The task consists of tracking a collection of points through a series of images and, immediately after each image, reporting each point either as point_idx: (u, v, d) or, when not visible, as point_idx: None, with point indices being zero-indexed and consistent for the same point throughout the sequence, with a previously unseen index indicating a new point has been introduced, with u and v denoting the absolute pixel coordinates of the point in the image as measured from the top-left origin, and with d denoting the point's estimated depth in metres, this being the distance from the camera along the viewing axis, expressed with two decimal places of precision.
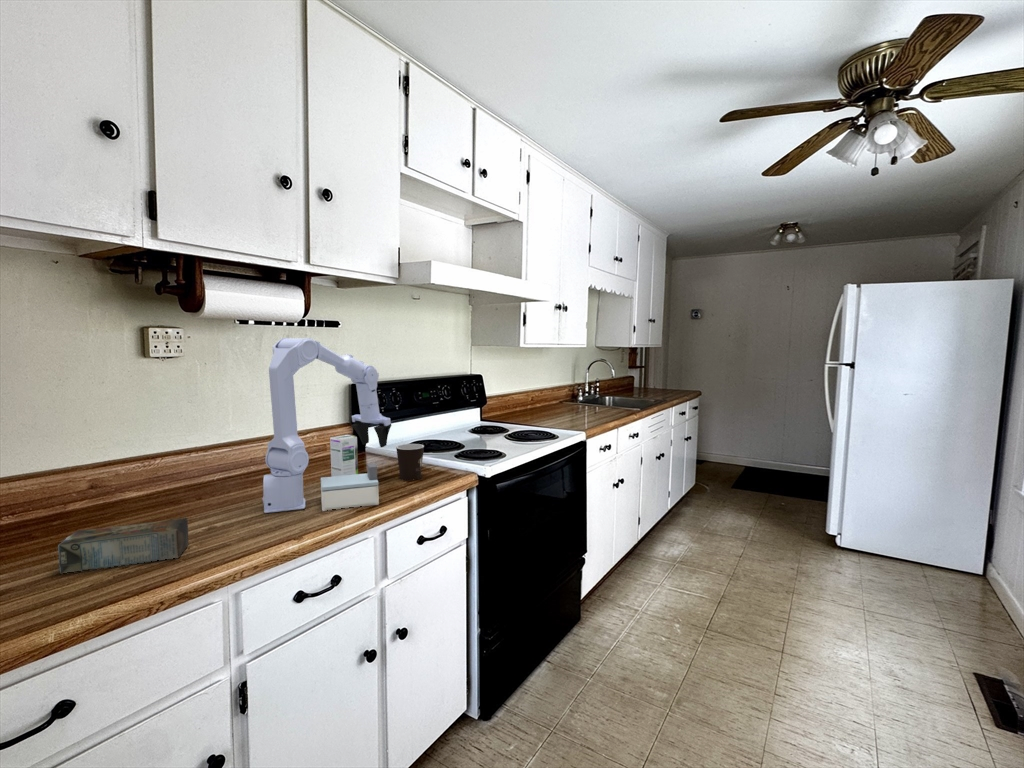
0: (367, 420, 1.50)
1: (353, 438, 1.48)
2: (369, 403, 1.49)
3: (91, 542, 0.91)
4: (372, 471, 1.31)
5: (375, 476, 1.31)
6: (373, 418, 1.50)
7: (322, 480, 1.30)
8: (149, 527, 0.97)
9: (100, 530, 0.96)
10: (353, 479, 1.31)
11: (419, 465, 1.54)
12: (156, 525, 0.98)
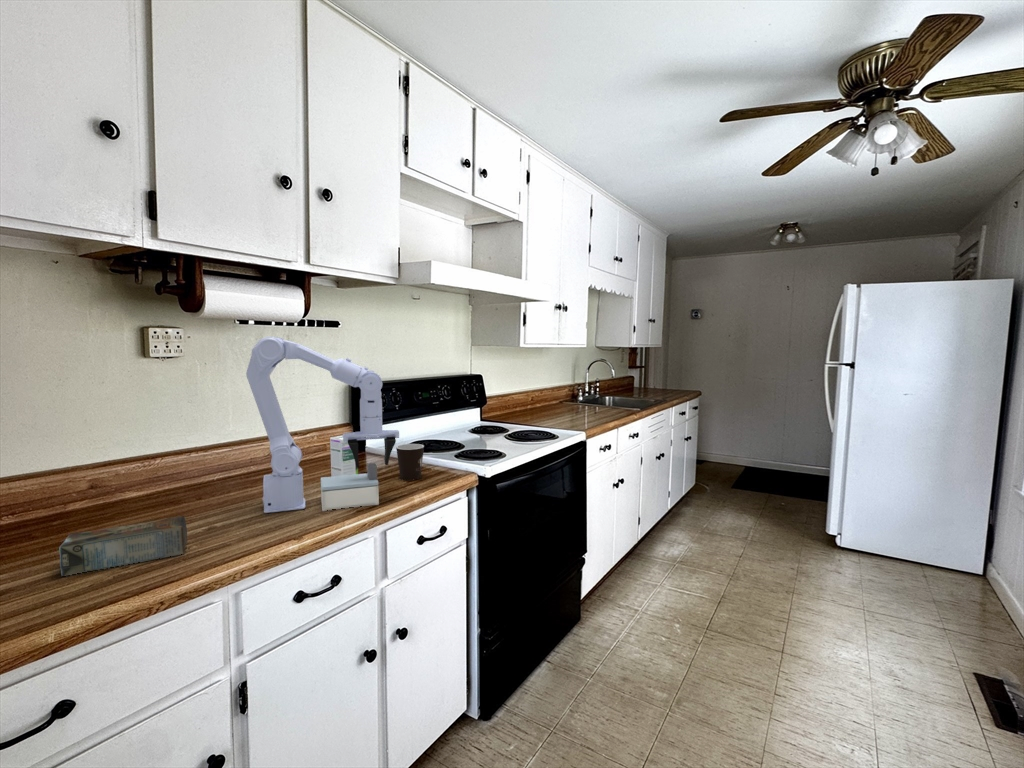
0: None
1: None
2: (364, 415, 1.29)
3: (94, 542, 0.91)
4: (372, 471, 1.31)
5: (375, 476, 1.31)
6: None
7: (322, 480, 1.30)
8: (151, 526, 0.98)
9: (96, 532, 0.96)
10: (353, 479, 1.31)
11: (419, 465, 1.54)
12: (157, 523, 0.99)
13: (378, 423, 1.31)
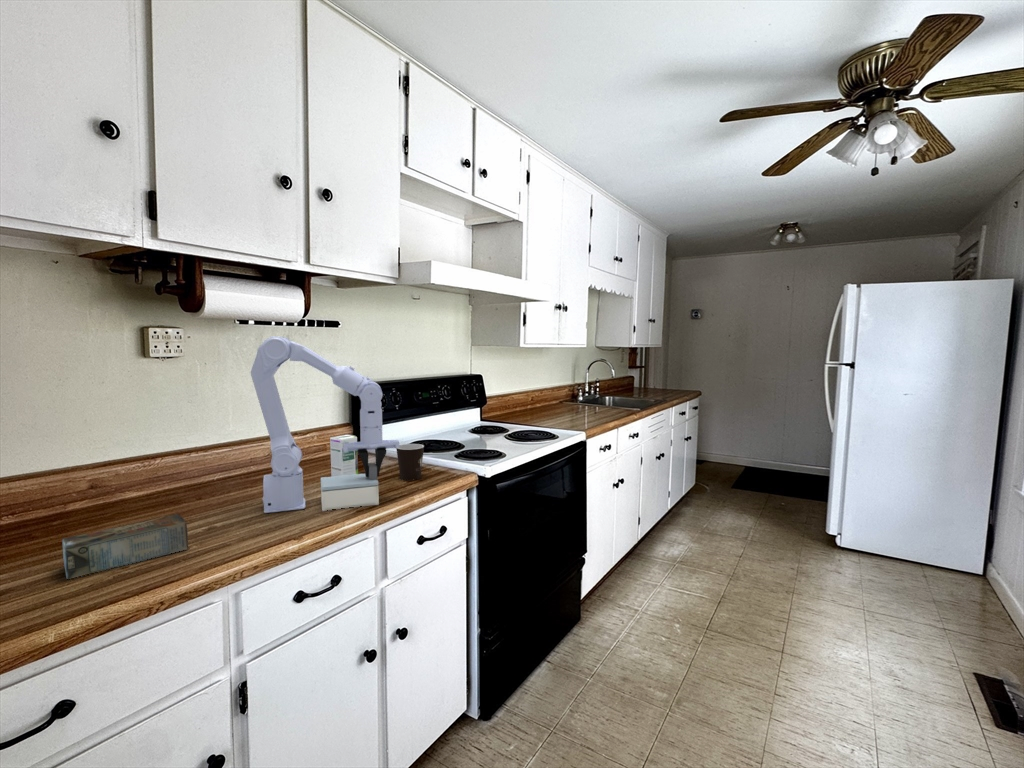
0: None
1: (353, 438, 1.48)
2: (364, 425, 1.30)
3: (100, 543, 0.91)
4: (372, 471, 1.31)
5: (375, 476, 1.31)
6: None
7: (322, 480, 1.30)
8: (152, 524, 0.98)
9: (93, 534, 0.94)
10: (353, 479, 1.31)
11: (419, 465, 1.54)
12: (158, 522, 1.00)
13: (378, 433, 1.31)
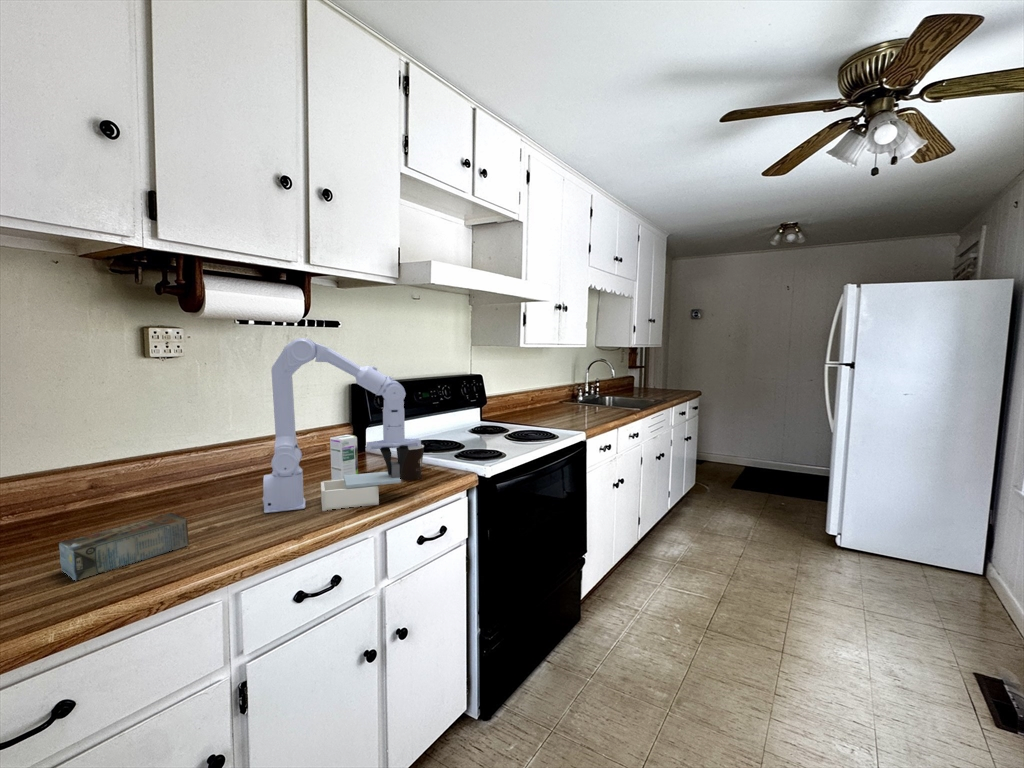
0: None
1: (353, 438, 1.48)
2: (387, 424, 1.32)
3: (107, 543, 0.91)
4: (395, 469, 1.33)
5: (398, 474, 1.33)
6: None
7: (346, 478, 1.32)
8: (152, 522, 0.99)
9: (91, 536, 0.93)
10: (376, 477, 1.34)
11: (419, 465, 1.54)
12: (156, 520, 1.00)
13: (401, 432, 1.33)
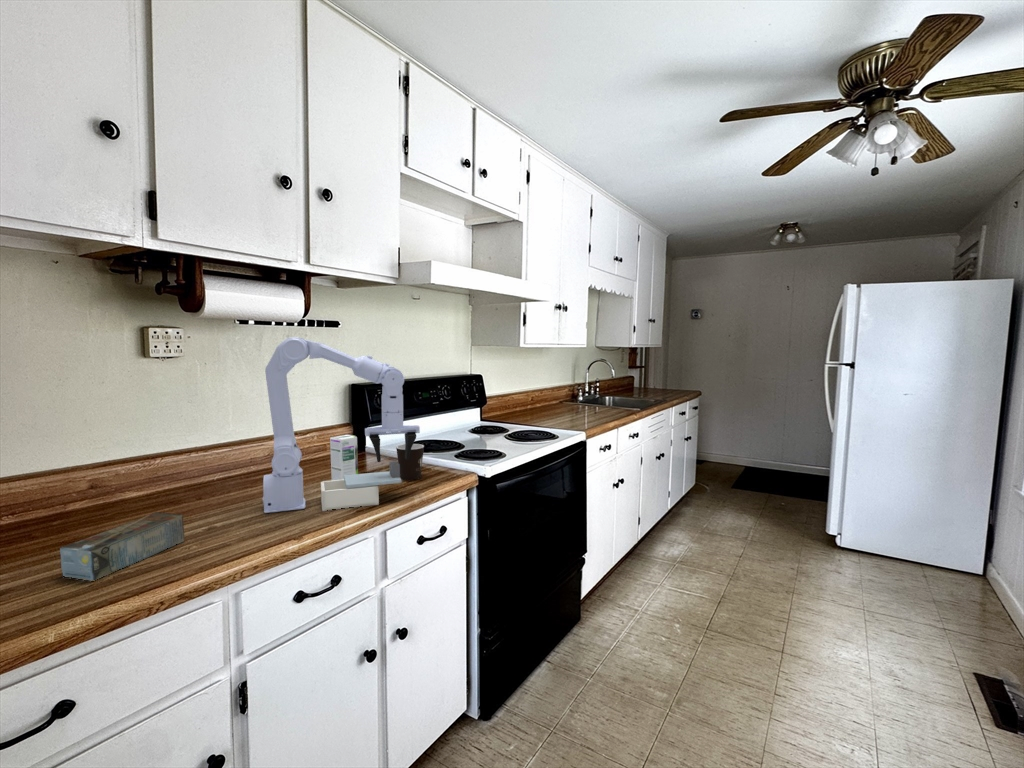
0: None
1: (353, 438, 1.48)
2: (386, 410, 1.32)
3: (119, 541, 0.91)
4: (395, 469, 1.33)
5: (398, 474, 1.33)
6: None
7: (346, 478, 1.32)
8: (149, 521, 1.00)
9: (91, 539, 0.92)
10: (376, 477, 1.34)
11: (419, 465, 1.54)
12: (152, 519, 1.01)
13: (400, 418, 1.33)
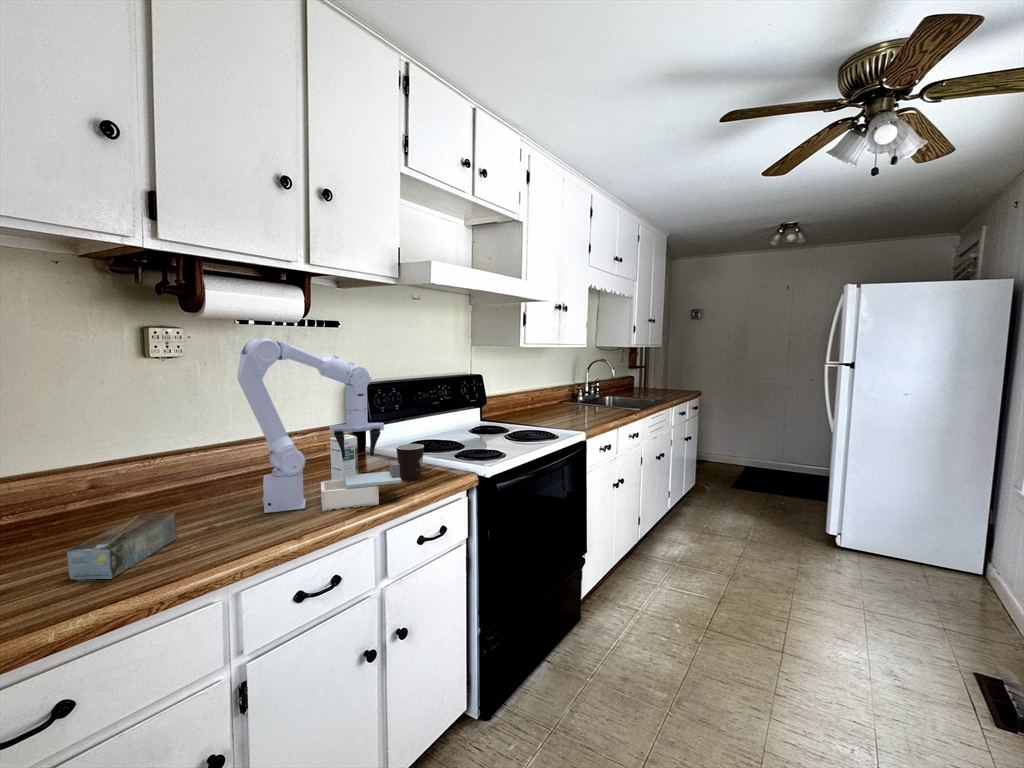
0: None
1: (353, 438, 1.48)
2: (353, 408, 1.35)
3: (129, 539, 0.92)
4: (395, 469, 1.33)
5: (398, 474, 1.33)
6: None
7: (346, 478, 1.32)
8: (145, 520, 1.00)
9: (95, 540, 0.91)
10: (376, 477, 1.34)
11: (419, 465, 1.54)
12: (145, 518, 1.01)
13: (363, 416, 1.37)
